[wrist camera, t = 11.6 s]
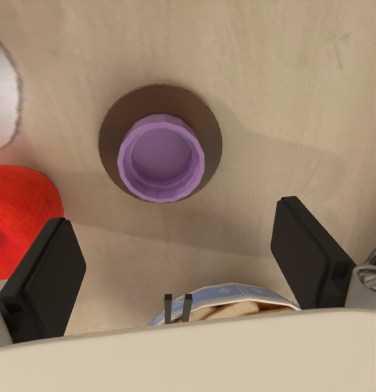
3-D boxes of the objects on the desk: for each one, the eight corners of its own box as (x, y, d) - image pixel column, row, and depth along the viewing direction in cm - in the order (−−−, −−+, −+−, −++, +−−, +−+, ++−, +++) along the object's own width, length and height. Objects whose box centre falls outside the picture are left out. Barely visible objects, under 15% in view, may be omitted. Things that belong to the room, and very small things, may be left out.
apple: (-31, 135, 21) (-122, 175, 14) (80, 157, 23) (46, 201, 16) (-18, 221, 25) (-83, 284, 18) (75, 234, 27) (47, 295, 20)
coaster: (85, 88, 20) (83, 90, 20) (221, 79, 21) (223, 80, 20) (113, 205, 26) (112, 208, 25) (220, 194, 26) (221, 197, 26)
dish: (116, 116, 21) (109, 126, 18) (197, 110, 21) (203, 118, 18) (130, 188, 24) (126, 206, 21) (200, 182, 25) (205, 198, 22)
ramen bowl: (269, 354, 43) (290, 413, 36) (133, 360, 40) (127, 426, 33) (322, 240, 31) (370, 297, 24) (132, 237, 28) (123, 300, 21)
